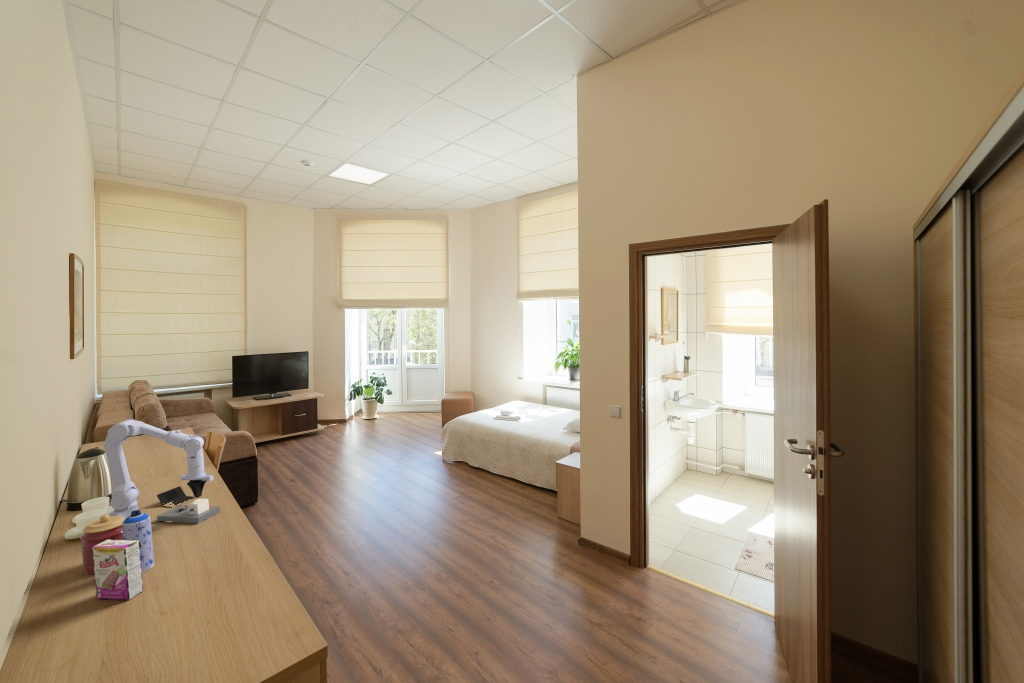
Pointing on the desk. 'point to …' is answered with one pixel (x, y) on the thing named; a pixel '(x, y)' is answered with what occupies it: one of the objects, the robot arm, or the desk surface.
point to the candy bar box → (117, 569)
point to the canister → (99, 537)
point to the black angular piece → (173, 496)
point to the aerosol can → (140, 536)
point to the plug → (198, 506)
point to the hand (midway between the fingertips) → (198, 496)
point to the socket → (186, 514)
